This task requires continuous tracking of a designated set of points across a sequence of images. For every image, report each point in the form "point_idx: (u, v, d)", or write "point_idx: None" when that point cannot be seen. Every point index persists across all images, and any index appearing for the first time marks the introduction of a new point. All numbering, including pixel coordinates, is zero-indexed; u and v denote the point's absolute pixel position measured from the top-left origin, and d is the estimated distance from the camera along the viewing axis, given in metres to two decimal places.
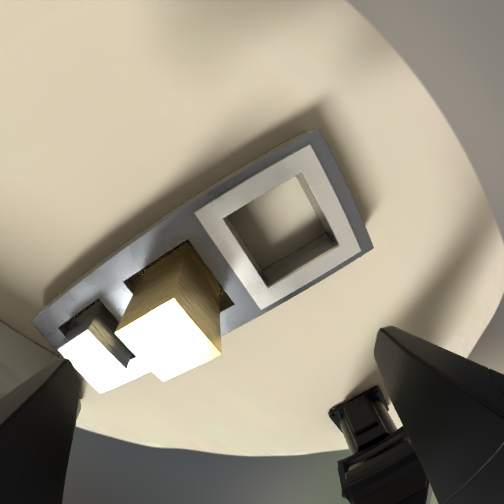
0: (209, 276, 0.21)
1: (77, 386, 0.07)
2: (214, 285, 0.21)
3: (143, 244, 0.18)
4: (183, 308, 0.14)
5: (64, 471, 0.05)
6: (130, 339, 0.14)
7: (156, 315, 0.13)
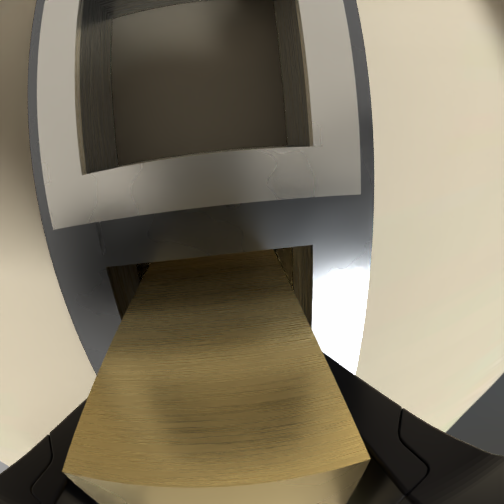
0: (233, 256, 0.09)
1: None
2: (255, 258, 0.09)
3: (94, 346, 0.08)
4: (110, 474, 0.03)
5: None
6: None
7: None
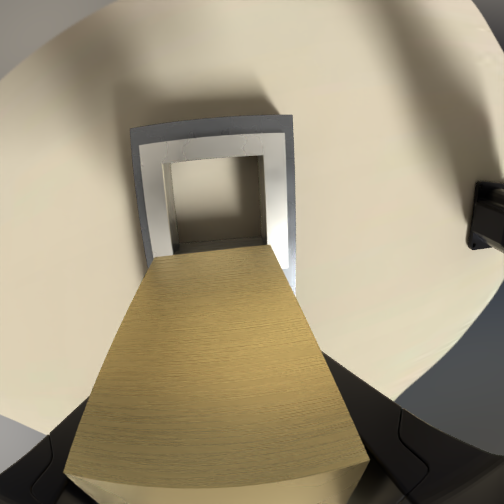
0: (233, 257, 0.09)
1: None
2: (255, 259, 0.09)
3: None
4: (110, 475, 0.03)
5: None
6: None
7: None
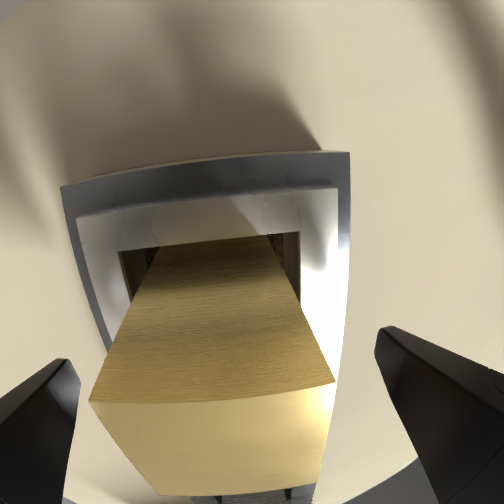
0: (232, 241, 0.11)
1: (77, 386, 0.07)
2: (251, 242, 0.10)
3: None
4: (129, 398, 0.04)
5: (64, 471, 0.05)
6: (181, 489, 0.05)
7: (129, 444, 0.04)
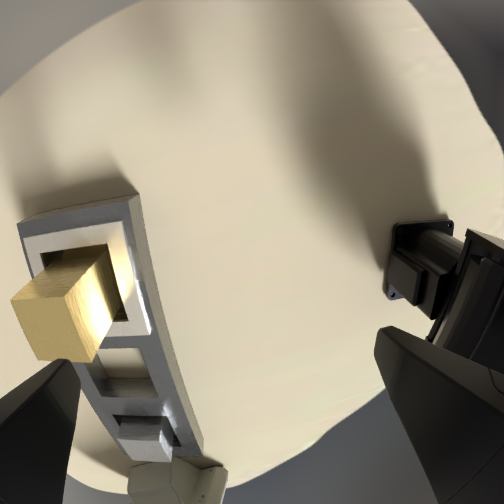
0: (94, 248, 0.18)
1: (77, 386, 0.07)
2: (100, 248, 0.18)
3: None
4: (19, 298, 0.12)
5: (64, 471, 0.05)
6: (42, 353, 0.13)
7: (21, 320, 0.12)
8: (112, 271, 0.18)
